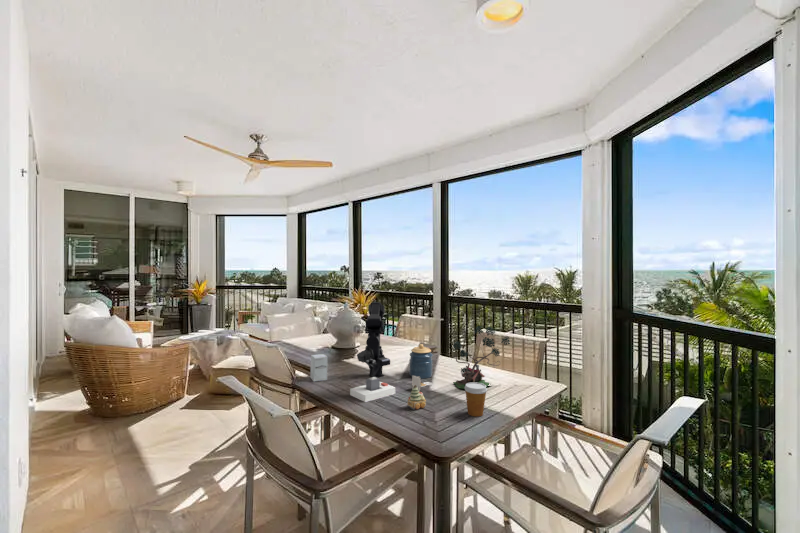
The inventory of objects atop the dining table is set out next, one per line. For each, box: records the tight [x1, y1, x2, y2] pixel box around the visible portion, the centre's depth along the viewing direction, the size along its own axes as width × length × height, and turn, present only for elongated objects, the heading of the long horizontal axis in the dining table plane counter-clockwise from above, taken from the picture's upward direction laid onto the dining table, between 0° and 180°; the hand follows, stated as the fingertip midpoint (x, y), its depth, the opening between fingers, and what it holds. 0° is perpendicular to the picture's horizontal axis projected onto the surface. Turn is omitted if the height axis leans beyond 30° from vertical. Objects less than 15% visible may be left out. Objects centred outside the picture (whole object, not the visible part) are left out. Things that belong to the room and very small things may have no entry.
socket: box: [349, 381, 396, 403], centre depth 187 cm, size 18×12×4 cm, turn 132°
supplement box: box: [310, 353, 329, 382], centre depth 209 cm, size 7×7×13 cm
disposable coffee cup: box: [463, 382, 488, 417], centre depth 165 cm, size 10×10×12 cm
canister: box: [408, 343, 434, 379], centre depth 219 cm, size 13×13×18 cm
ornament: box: [406, 385, 427, 410], centre depth 171 cm, size 8×6×10 cm
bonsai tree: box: [452, 325, 511, 390], centre depth 201 cm, size 35×24×32 cm
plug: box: [365, 376, 381, 391], centre depth 187 cm, size 5×4×7 cm
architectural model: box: [411, 375, 427, 392], centre depth 194 cm, size 3×7×7 cm, turn 41°
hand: (373, 376), depth 187 cm, fingers closed
